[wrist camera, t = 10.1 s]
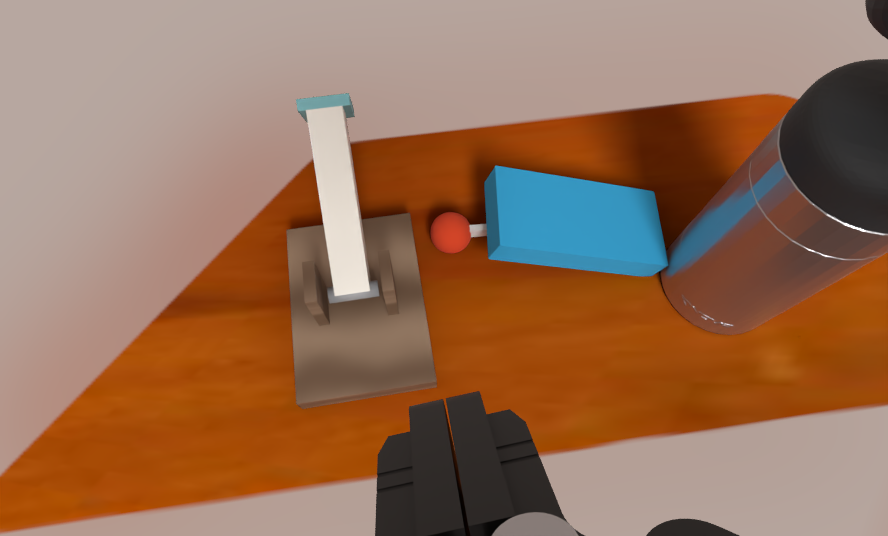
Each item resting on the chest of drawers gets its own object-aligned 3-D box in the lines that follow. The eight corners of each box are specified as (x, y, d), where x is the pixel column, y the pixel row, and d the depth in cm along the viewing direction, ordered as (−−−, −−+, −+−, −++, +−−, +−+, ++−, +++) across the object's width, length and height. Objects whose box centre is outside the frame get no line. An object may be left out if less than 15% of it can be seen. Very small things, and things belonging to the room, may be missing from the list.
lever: (608, 229, 53) (425, 203, 48) (654, 191, 47) (449, 158, 42) (618, 296, 50) (425, 277, 45) (668, 265, 44) (451, 239, 39)
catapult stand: (436, 387, 42) (436, 364, 35) (302, 408, 41) (277, 389, 34) (410, 224, 47) (406, 179, 41) (292, 240, 46) (269, 197, 40)
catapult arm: (379, 298, 39) (348, 92, 38) (328, 305, 39) (295, 99, 38) (380, 292, 43) (353, 106, 42) (334, 299, 43) (305, 112, 42)
